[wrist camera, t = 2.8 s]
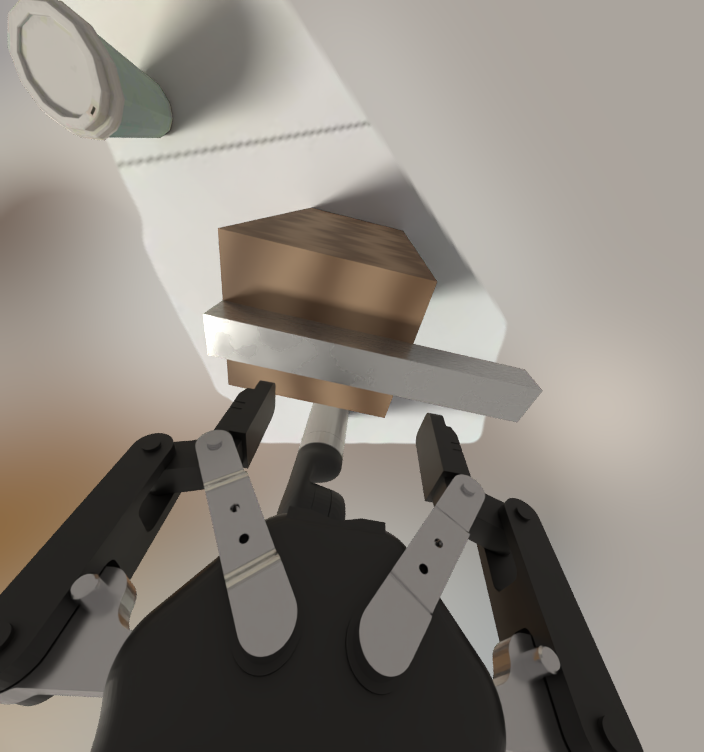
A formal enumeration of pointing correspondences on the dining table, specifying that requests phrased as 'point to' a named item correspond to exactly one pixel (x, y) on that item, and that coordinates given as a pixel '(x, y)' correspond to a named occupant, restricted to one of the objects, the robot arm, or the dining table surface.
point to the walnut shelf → (325, 289)
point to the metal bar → (367, 361)
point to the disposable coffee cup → (82, 75)
